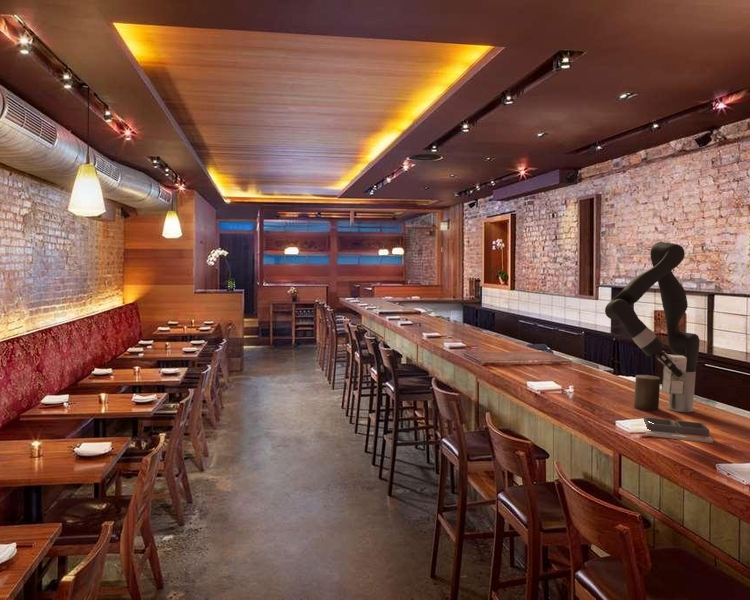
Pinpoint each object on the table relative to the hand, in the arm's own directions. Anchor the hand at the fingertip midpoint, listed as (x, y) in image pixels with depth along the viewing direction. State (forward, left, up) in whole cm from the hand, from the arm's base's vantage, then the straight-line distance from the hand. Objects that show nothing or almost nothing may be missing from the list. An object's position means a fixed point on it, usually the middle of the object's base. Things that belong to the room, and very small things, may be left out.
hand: (678, 374), depth 223 cm
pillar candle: (-26, -7, -21) cm, 34 cm away
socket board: (+11, -2, -20) cm, 23 cm away
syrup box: (0, -2, -8) cm, 8 cm away
